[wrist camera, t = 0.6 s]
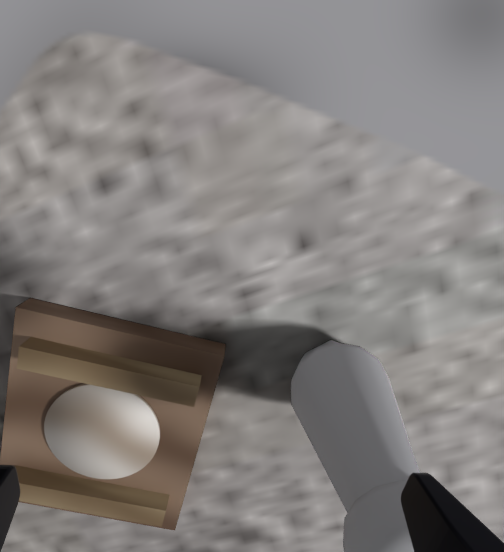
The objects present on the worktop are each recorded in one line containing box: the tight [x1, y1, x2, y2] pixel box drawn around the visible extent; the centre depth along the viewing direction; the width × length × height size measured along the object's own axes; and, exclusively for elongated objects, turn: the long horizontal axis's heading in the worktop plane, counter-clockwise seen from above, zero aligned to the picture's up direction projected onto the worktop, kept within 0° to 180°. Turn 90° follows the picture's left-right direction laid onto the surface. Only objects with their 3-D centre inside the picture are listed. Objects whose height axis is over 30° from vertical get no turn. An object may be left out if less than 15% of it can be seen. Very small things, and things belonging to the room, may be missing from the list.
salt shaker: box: [291, 340, 420, 552], centre depth 18 cm, size 6×6×13 cm
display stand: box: [0, 298, 226, 530], centre depth 24 cm, size 14×12×3 cm
